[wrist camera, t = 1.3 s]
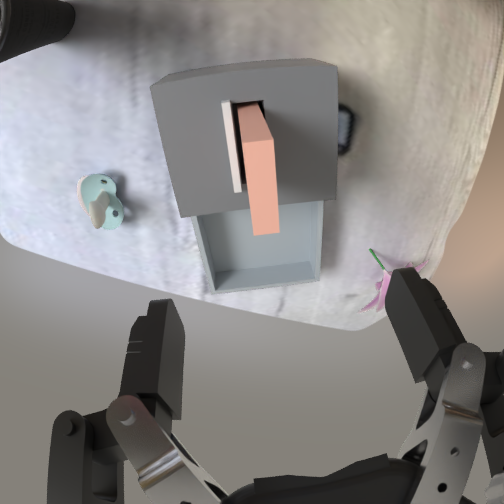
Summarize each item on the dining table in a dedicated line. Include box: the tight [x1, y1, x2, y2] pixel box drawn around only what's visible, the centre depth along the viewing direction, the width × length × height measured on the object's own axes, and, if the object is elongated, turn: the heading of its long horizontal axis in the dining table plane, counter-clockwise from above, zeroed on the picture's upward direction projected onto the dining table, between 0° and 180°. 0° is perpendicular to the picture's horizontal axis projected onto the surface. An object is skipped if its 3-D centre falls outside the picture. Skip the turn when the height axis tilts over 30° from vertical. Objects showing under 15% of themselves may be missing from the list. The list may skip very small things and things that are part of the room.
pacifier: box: [77, 174, 124, 230], centre depth 31 cm, size 7×6×6 cm
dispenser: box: [150, 59, 338, 218], centre depth 26 cm, size 14×12×9 cm
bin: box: [191, 201, 324, 294], centre depth 37 cm, size 14×13×4 cm
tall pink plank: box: [237, 101, 280, 236], centre depth 22 cm, size 2×6×13 cm, turn 6°
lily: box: [358, 249, 429, 313], centre depth 41 cm, size 12×12×10 cm
